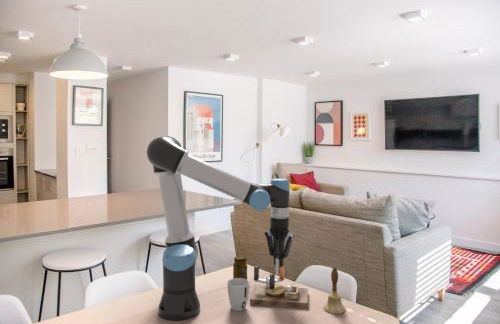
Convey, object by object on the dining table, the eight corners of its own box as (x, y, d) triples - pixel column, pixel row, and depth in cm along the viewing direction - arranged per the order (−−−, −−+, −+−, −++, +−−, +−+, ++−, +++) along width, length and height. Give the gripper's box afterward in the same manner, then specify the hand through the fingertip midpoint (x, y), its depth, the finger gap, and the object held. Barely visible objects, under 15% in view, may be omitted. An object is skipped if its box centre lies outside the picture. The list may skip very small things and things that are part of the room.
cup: (246, 313, 143) (246, 287, 142) (224, 311, 145) (225, 285, 144) (250, 304, 151) (250, 279, 150) (230, 302, 153) (230, 277, 152)
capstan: (251, 298, 151) (252, 274, 150) (254, 286, 162) (254, 264, 162) (284, 300, 149) (285, 276, 149) (285, 288, 161) (285, 265, 160)
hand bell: (321, 311, 145) (322, 269, 144) (325, 302, 153) (326, 262, 152) (343, 315, 142) (345, 273, 141) (347, 306, 150) (348, 265, 149)
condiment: (246, 280, 175) (246, 254, 174) (250, 288, 167) (250, 260, 166) (230, 282, 173) (230, 255, 172) (233, 289, 165) (233, 261, 164)
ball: (284, 295, 154) (284, 287, 154) (285, 291, 158) (285, 284, 157) (292, 295, 154) (292, 287, 154) (293, 292, 157) (293, 284, 157)
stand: (250, 304, 151) (250, 293, 151) (254, 289, 165) (254, 279, 165) (307, 308, 148) (307, 296, 148) (307, 293, 162) (307, 282, 161)
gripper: (261, 216, 159) (260, 272, 161) (289, 220, 152) (288, 279, 154) (270, 213, 166) (269, 267, 167) (298, 217, 159) (296, 274, 160)
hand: (278, 273), depth 161 cm, fingers closed
